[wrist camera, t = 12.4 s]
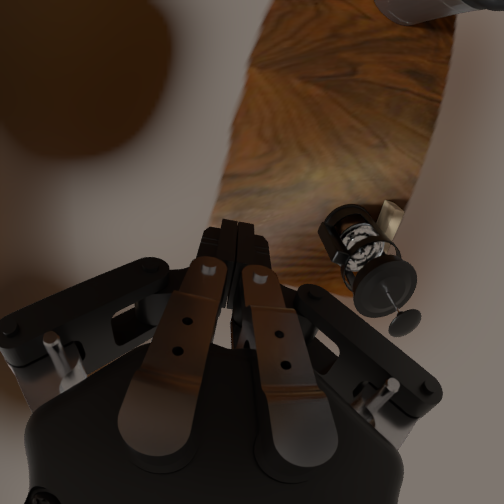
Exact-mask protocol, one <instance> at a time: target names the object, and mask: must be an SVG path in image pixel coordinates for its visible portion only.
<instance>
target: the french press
mask: <svg viewBox="0 0 504 504" xmlns="http://www.w3.org/2000/svg"><path fill="white" fill-rule="evenodd" d="M356 214H358V215H361V216H362V217H363V218H364V220H365V222H366V223H359V224H355V225H352V226H350V227H349V228H347V229H346V230H344V231H343V232H342V233H341V234H340V235H339V234H338V232H337V231H336V229H335V227H334V226H335V225H336V224H337V223H338V222H339V221H340V220H342V219H343V218H345V217H347V216H350V215H356ZM318 234H319V236H320V238H321V240H322V242H323V244H324V247H325V249H326V251H327V253H328V255H329V257H330V259H331V261H332V262H334V263H337V264H339V265H340V267H341V276H342V278H343V281H344V283H345V285H346V287H347V288H348V289H349V290H350V291H352V292H353V294H354V297H353V301H354V305H355V307H356V309H357V311H358V312H359V313H360V314H362V315H364V316H366V317H371V318H377V317H383V316H387V315H389V314H391V313H393V312H395V311H397V313H398V314H397V317H396V318H395V319H394V320H393V321H392V322H391V324H390V326H389V334H390V335H391V336H393V337H401V336H404V335H407V334H408V333H410V332H411V331H413V330H414V329H415V328H416V327H417V326H418V324H419V323H420V320H421V313H420V311H418V310H416V309H411V310H407V311H404V312H403V311H401V312H400V310H399V309H400V308H401V307H402V306H403V305H404V304H405V303H406V302H407V301H408V300H409V299H410V297H411V296H412V294H413V293H414V290H415V288H416V283H417V275H416V271H415V270H414V268H413V266H411V264H409V263H408V262H406V261H403V260H402V259H401V254H400V251H399V250H398V248H397V247H396V246H395V244H394V243H393V242H392V241H391V240H390V239H389V238H388V237H387V236H386V234H385V233H384V232H383V231H382V230H381V229H380V228H379V226H378V225H377V224H376V223H375V221H374V220H373V219H372V218H371V216H370V214H369V213H368V212H367V211H366V210H365V209H364V208H362V207H361V206H358V205H353V204H348V205H343V206H340V207H338V208H336V209H334V210H333V211H332V212H331V213H330V214H329V215H328V216H327V218H326V219H325V221H324V222H322V223H321V225H320V227H319V229H318ZM384 242H386V243H390V244H391V245H393V246H394V247H395V250H396V256H395V255H387V254H386V253H385V252H384V250H383V249H384ZM352 271H359V272H358V273H357V275H356V277H355V276H354V274H353V272H352ZM345 276H346V278H347V280H348V282H349V284H350V285H349V284H348V283H347V282H346V281H345Z"/></svg>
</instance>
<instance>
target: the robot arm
mask: <svg viewBox="0 0 504 504" xmlns="http://www.w3.org/2000/svg"><path fill="white" fill-rule="evenodd" d="M374 2H375V3H376V5H377V7H378V8H379V10H380V11H381V12H382V13H383V14H384V15H385V16H386V17H387V18H389V19H390V20H392V21H393V22H395V23H398V24H400V25H404V26H410V25H414V24H418V23H421V22H425V21H429V20H433V19H437V18H441V17H445V16H450V15H454V14H459V13H464V12H470V11H476V10H483V9H488V10H492V11H504V0H374ZM237 223H238V226H237ZM227 296H228V298H227ZM226 301H227V308H228V309H232V317H231V321H230V332H231V349H227V348H224V347H221V346H218V345H216V344H213V339H214V334H215V330H216V325H217V320H218V317H219V316H220V313H221V308H225V306H226ZM131 304H135V307H134V308H132V309H130V310H128V311H126V312H124V313H122V314H120V315H118V316H116V317H114V318H112V317H113V315H114V314H115V313H116V312H118V311H119V310H121V309H123V308H125V307H127V306H129V305H131ZM318 330H320V331H321V332H323V333H324V334H325V335H326V336H327V337H328V338H330V339H331V340H332V341H333V342H334V343H335V344H336V345H337V346H338V348H339V350H340V355H339V357H338V356H336V355H335V354H334V353H333V352H331V350H330V349H328V348H327V347H326V346H325V345H324V344H323V343H322V342H320V341H319V340H318V339H317V338H316V337H315V335H316V333H317V331H318ZM152 337H153V338H152ZM150 338H152V340H151V343H148V344H144V345H141V346H139V345H140V344H142V343H144V342H145V341H147V340H149V339H150ZM137 346H139V347H137ZM135 347H136V348H135ZM133 348H134V349H133ZM132 349H133V350H132ZM130 350H131V351H130ZM0 351H1V353H2V354H3V356H4V359H5V361H6V362H7V364H8V365H9V367H10V368H11V370H12V371H13V373H14V374H15V376H16V378H17V381H18V383H19V385H20V388H21V390H22V392H23V394H24V397H25V399H26V401H27V403H28V405H29V407H30V409H31V411H32V413H33V414H32V415H31V416H30V418H29V420H28V422H27V425H26V428H25V434H24V444H25V450H26V455H27V460H28V467H29V492H28V496H27V498H26V501H25V503H24V504H397V502H398V497H399V492H400V488H401V485H402V481H403V475H404V468H403V462H402V459H401V456H400V454H399V452H398V449H399V448H400V447H401V445H402V443H403V442H404V441H405V439H406V437H407V436H408V434H409V433H410V431H411V430H412V428H413V426H414V425H415V423H416V422H417V421H418V420H419V419H420V418H422V417H423V416H424V415H425V414H426V413H428V412H429V411H430V410H431V409H432V408H433V407H434V406H436V405H437V404H438V403H439V402H440V401H441V399H442V395H443V392H442V388H441V385H440V384H439V382H438V381H437V379H436V378H435V377H433V376H432V375H431V374H430V373H429V372H427V371H426V370H425V369H424V368H422V367H421V366H420V365H419V364H418V363H416V362H415V361H414V360H413V359H411V358H410V357H409V356H407V355H406V354H405V353H404V352H403V351H402V350H400V349H399V348H398V347H397V346H395V345H394V344H393V343H391V342H390V341H389V340H388V339H387V338H385V337H384V336H383V335H382V334H380V333H379V332H378V331H377V330H375V329H374V328H373V327H372V326H370V325H369V324H368V323H367V322H365V321H364V320H363V319H362V318H360V317H359V316H358V315H356V314H355V313H354V312H353V311H352V310H350V309H349V308H348V307H347V306H345V305H344V304H343V303H341V302H340V301H339V300H338V299H336V298H335V297H334V296H333V295H331V294H330V293H329V292H328V291H326V290H325V289H323V288H322V287H320V286H317V285H313V284H304V285H301V286H300V287H299V288H298V290H297V291H295V290H293V289H290V288H287V287H285V286H283V285H281V284H280V283H279V280H278V277H277V275H276V273H275V272H274V271H273V270H272V269H271V261H270V255H269V246H268V242H267V240H266V239H265V238H264V237H263V236H260V235H254V224H250V223H244V222H238V221H233V220H227V219H222V225H221V229H220V228H215V227H209V228H207V229H206V230H205V231H204V232H203V236H202V239H201V243H200V246H199V249H198V253H197V256H196V258H195V259H193V260H192V262H191V263H190V266H189V267H187V268H184V269H179V270H178V269H177V270H169V265H168V264H167V263H166V262H165V261H163V260H162V259H159V258H155V257H145V258H141V259H138V260H136V261H133V262H131V263H128V264H126V265H123V266H121V267H118V268H116V269H113V270H111V271H108V272H106V273H103V274H101V275H98V276H96V277H94V278H91V279H89V280H87V281H84V282H82V283H79V284H77V285H75V286H72V287H70V288H67V289H65V290H63V291H61V292H58V293H56V294H53V295H51V296H49V297H46V298H44V299H42V300H40V301H38V302H35V303H33V304H31V305H28V306H26V307H24V308H22V309H20V310H17V311H15V312H13V313H11V314H9V315H7V316H5V317H3V318H2V319H1V320H0ZM128 351H129V352H128ZM127 352H128V353H127ZM125 353H126V354H125ZM123 354H124V355H123ZM121 355H123V356H121ZM120 356H121V357H120ZM118 357H120V358H118ZM116 358H118V359H116ZM114 359H116V360H115V361H113V360H114ZM111 361H113V362H112V363H110V364H108V365H107V366H105V367H103V368H102V369H100V370H99V371H97V372H95V373H94V374H92V375H90V376H89V377H87V375H88V374H90V373H91V372H93V371H95V370H97V369H98V368H100V367H102V366H104V365H106V364H107V363H109V362H111Z"/></svg>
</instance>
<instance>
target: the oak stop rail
mask: <svg viewBox="0 0 504 504" xmlns="http://www.w3.org/2000/svg"><path fill="white" fill-rule="evenodd" d="M404 213H405V212H404V211H403V210H402V209H401V208H399V207H398V206H397V205H396V204H395V203H393V202H390V201H387V200H385V201H384V204H383V206H382V209H381V212H380V214H379V217H378V219H377V222H376V224H377V225H378V226H379V228H380V229H381V230H382V231H383V232H384V233H385V234H386V236H387V237H388V238H389V239H390V240H391V241H392V240H393V238H394V236H395V234H396V231H397V229H398V227H399V224H400V222H401V220H402V217H403V215H404ZM390 245H391V244H390V243H386V242H384V249H383V250H384V252H385V253H387V251H388V249H389V247H390Z"/></svg>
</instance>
